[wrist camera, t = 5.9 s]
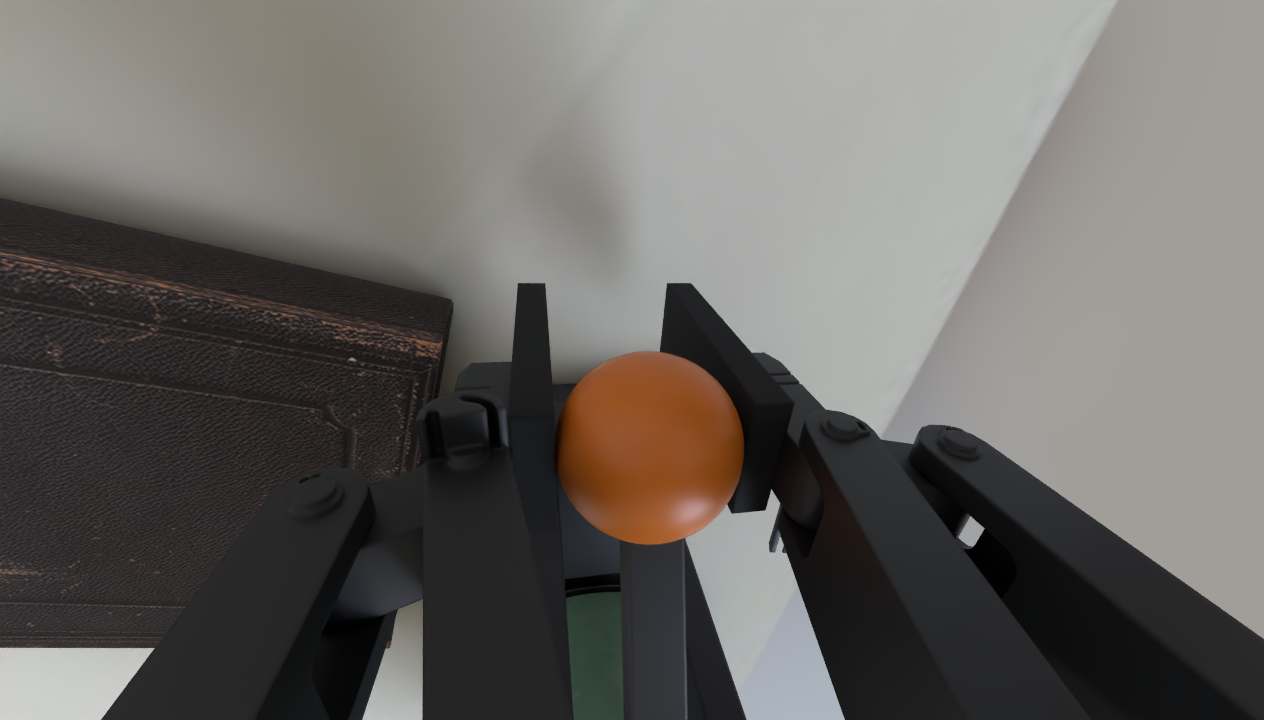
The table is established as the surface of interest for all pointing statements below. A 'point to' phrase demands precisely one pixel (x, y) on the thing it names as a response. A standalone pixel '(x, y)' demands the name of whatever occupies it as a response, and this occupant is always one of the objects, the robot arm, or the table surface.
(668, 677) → the switch
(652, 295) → the table surface
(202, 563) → the hardcover book
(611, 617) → the kettle
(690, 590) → the switch bracket
